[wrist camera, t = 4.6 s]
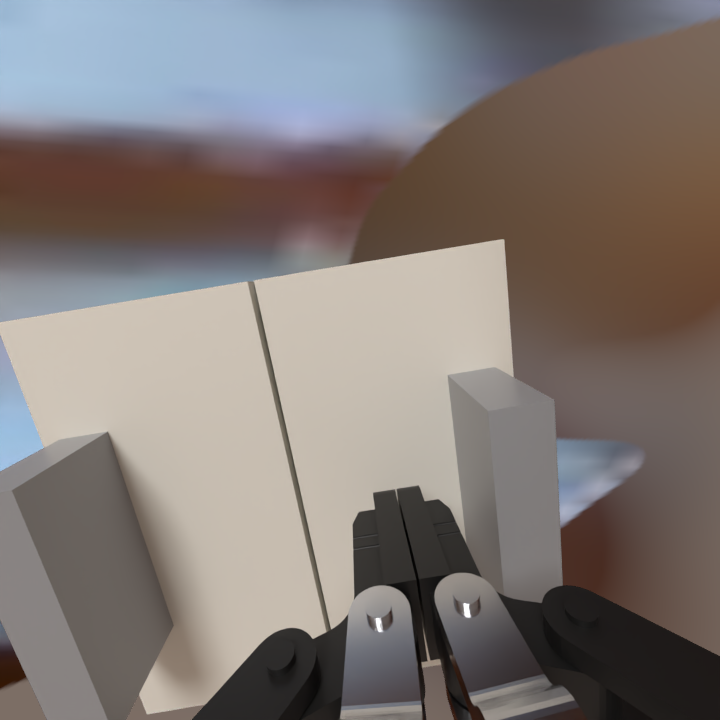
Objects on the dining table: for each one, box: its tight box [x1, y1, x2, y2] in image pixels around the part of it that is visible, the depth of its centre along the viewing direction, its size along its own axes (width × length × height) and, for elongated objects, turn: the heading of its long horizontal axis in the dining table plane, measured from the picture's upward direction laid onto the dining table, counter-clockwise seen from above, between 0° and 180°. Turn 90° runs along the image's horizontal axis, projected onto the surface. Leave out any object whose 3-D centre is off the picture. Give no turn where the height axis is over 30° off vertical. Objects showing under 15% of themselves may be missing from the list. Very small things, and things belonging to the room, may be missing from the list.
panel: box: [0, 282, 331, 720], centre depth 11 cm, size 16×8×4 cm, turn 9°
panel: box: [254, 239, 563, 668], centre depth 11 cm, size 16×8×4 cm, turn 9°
